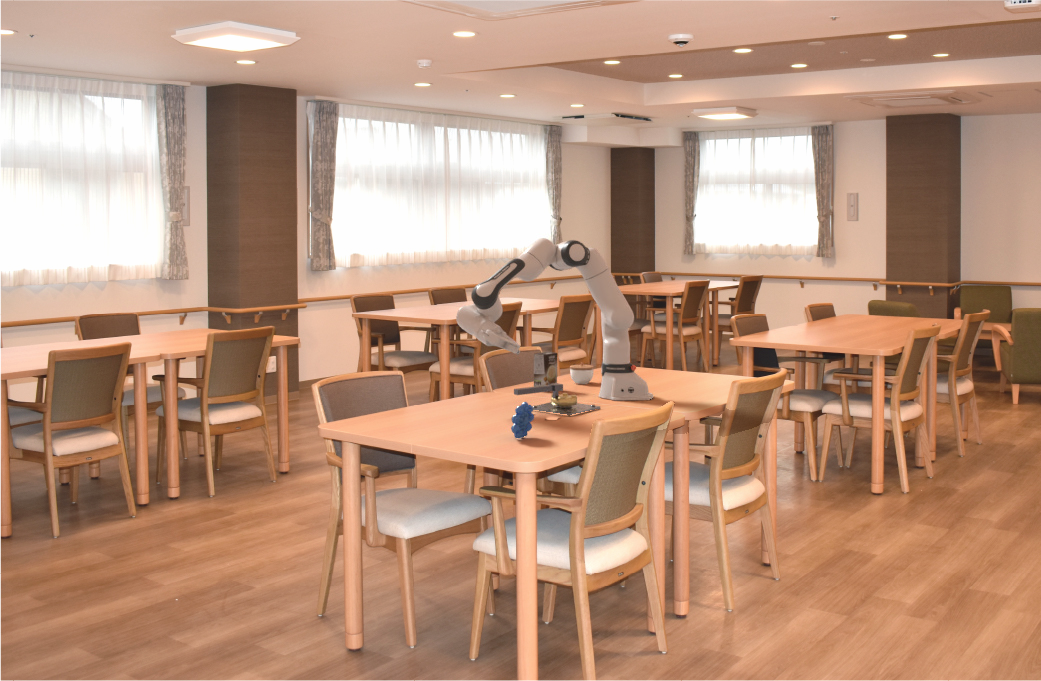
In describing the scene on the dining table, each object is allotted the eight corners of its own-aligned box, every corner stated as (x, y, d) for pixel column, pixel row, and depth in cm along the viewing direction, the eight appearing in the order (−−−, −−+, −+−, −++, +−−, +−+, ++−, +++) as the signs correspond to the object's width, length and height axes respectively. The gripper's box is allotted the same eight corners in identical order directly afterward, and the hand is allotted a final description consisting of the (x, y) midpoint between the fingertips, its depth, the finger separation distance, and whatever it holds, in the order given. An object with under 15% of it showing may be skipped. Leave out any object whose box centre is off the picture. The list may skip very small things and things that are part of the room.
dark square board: (557, 403, 384) (558, 398, 384) (600, 408, 372) (600, 403, 372) (527, 410, 368) (527, 405, 368) (570, 416, 356) (570, 411, 356)
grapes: (521, 433, 326) (521, 398, 324) (538, 436, 322) (538, 400, 320) (501, 439, 316) (501, 403, 315) (519, 442, 312) (519, 405, 311)
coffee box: (545, 392, 410) (545, 354, 408) (533, 390, 414) (533, 353, 412) (557, 389, 418) (557, 352, 416) (545, 388, 421) (545, 351, 419)
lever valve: (565, 400, 377) (565, 380, 376) (582, 404, 369) (582, 383, 368) (507, 408, 360) (507, 387, 359) (524, 412, 352) (524, 390, 351)
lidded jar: (567, 384, 432) (567, 363, 431) (572, 380, 442) (573, 360, 441) (590, 385, 428) (590, 364, 427) (595, 382, 439) (596, 361, 438)
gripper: (483, 322, 359) (511, 340, 354) (505, 331, 378) (532, 349, 372) (474, 336, 360) (502, 355, 354) (497, 345, 378) (524, 363, 373)
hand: (518, 352), depth 363 cm, fingers closed
